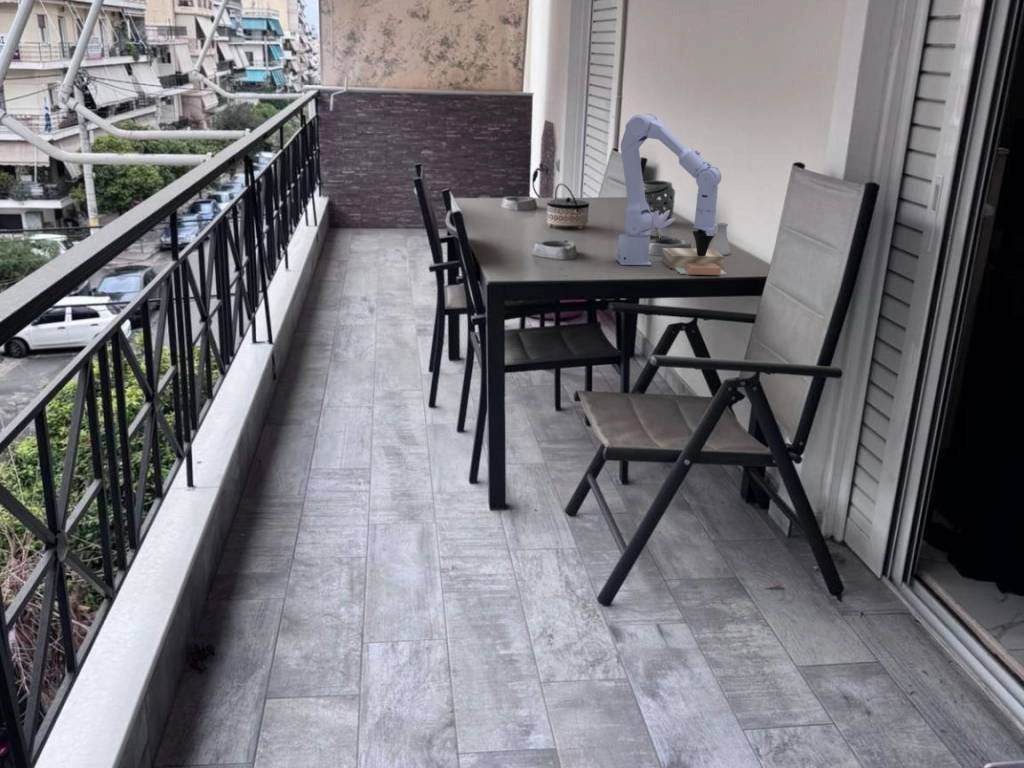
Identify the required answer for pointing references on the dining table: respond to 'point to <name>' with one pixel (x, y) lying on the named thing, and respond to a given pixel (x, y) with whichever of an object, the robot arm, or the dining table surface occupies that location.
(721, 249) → the flask
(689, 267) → the tile
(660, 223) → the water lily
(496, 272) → the dining table surface
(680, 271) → the mat
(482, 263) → the dining table surface
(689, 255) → the plate
